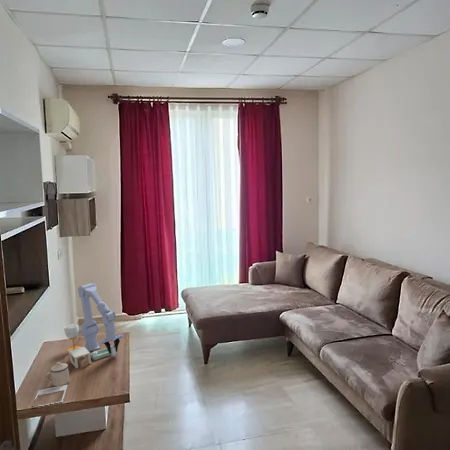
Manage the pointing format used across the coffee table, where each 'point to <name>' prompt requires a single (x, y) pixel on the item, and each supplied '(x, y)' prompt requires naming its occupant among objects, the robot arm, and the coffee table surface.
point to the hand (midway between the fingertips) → (113, 352)
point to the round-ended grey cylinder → (113, 350)
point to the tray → (99, 354)
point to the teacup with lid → (59, 374)
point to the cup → (72, 334)
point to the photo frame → (52, 390)
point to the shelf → (79, 355)
